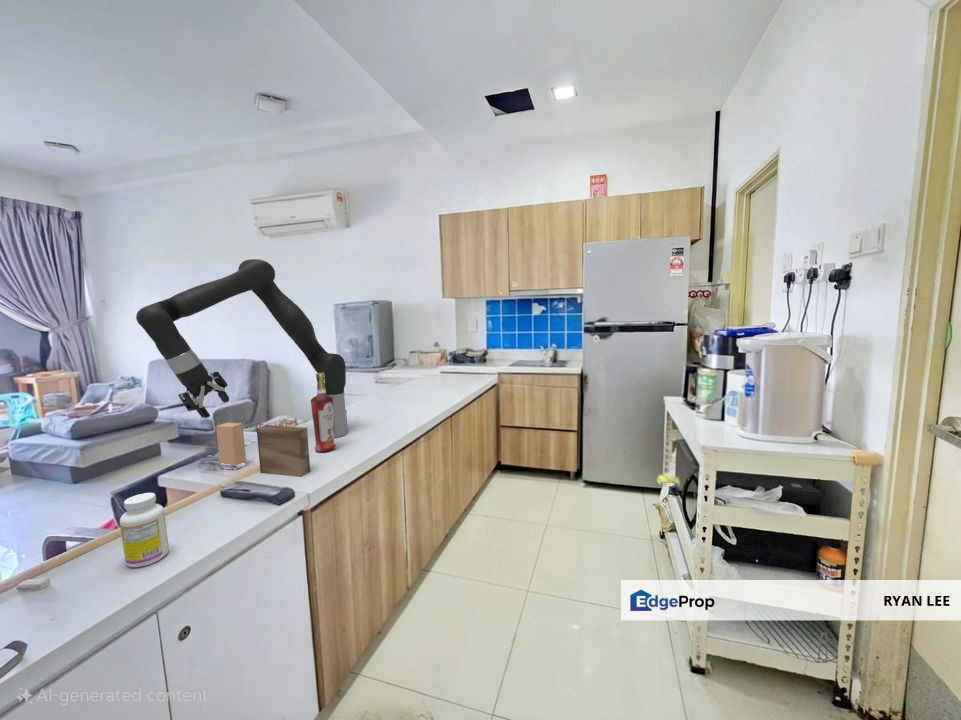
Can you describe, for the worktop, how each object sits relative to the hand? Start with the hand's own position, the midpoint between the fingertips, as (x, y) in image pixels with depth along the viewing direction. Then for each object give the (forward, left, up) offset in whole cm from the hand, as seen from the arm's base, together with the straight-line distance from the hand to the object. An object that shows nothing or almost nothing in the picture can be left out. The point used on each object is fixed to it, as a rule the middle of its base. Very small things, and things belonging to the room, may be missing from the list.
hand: (217, 409), depth 125 cm
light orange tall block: (+2, +7, -18) cm, 20 cm away
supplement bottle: (+44, +30, -19) cm, 57 cm away
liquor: (-18, +26, -19) cm, 37 cm away
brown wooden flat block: (+2, +27, -18) cm, 33 cm away
